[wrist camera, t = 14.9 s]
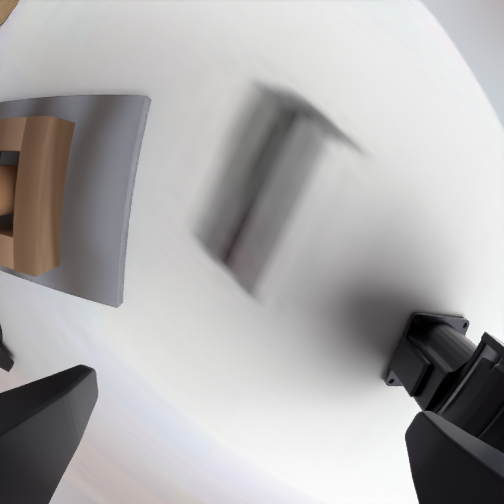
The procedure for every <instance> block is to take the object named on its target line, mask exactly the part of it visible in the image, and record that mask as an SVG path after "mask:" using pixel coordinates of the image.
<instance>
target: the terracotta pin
mask: <svg viewBox="0 0 504 504" xmlns="http://www.w3.org/2000/svg"><path fill="white" fill-rule="evenodd" d="M17 172H18V165H0V216H2V215H7V214H12V213H14V203H15V190H16V180H17Z"/></svg>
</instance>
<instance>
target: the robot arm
mask: <svg viewBox="0 0 504 504" xmlns="http://www.w3.org/2000/svg"><path fill="white" fill-rule="evenodd" d="M417 317H418V318H417ZM415 318H417V320H416V321H414V320H415ZM464 323H465V324H464ZM468 326H469V321H468V320H467V319H465V318H459V317H451V316H443V315H435V314H427V313H420V312H415V313H413V314H412V315H411V316H410V318H409V321H408V324H407V326H406V329H405V332H404V334H403V337H402V339H401V341H400V343H399V346H398V348H397V350H396V353H395V355H394V358H393V360H392V362H391V365H390V368H389V370H388V372H387V375H386V377H385V379H384V381H385V383H386V385H387V386H403V387H404V388H405V390H406V391H407V393H408V394H409V396H410V397H413V398H414V399H415V401H416V402H417V404H418V405H419V407H420V408H421V410H422V412H419V413H418V414H417V415H416V416H415V418H414V419H413V421H412V423H411V424H410V426H409V427H408V429H407V431H406V433H405V441H406V446H407V451H408V457H409V462H410V468H411V474H412V479H413V483H414V486H415V490H416V494H417V498H418V501H419V504H504V343H503V342H501V341H500V340H498V339H497V338H495V337H493V336H492V335H490V334H488V333H487V332H484V334H483V336H482V337H481V339H482V340H481V341H480V343H479V345H478V346H476V345H475V344H474V343H473V342H471V341H470V340H469V339H468V338H466V337H465V334H466V331H467V329H468ZM390 379H392V380H390ZM389 380H390V381H389ZM97 398H98V386H97V377H96V371H95V370H94V369H93V368H91V367H88V366H85V365H77V366H75V367H72V368H69V369H67V370H64V371H61V372H59V373H56V374H53V375H51V376H48V377H45V378H42V379H40V380H37V381H34V382H31V383H28V384H25V385H23V386H20V387H17V388H14V389H11V390H8V391H5V392H2V393H0V504H49V502H50V500H51V498H52V496H53V494H54V492H55V490H56V488H57V486H58V483H59V482H60V480H61V478H62V476H63V474H64V472H65V470H66V468H67V466H68V464H69V462H70V461H71V459H72V457H73V455H74V453H75V451H76V449H77V447H78V445H79V443H80V441H81V439H82V436H83V434H84V431H85V429H86V426H87V423H88V421H89V418H90V416H91V413H92V411H93V408H94V406H95V404H96V401H97Z"/></svg>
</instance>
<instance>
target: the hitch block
mask: <svg viewBox="0 0 504 504" xmlns="http://www.w3.org/2000/svg"><path fill="white" fill-rule="evenodd" d="M150 103H151V100H150V99H149V98H148V97H147V96H134V95H77V96H57V97H44V98H33V99H24V100H16V101H8V102H2V103H0V165H18V172H17V180H16V190H15V203H14V213H12V214H7V215H2V216H0V270H1V271H4V272H6V273H9V274H12V275H14V276H17V277H20V278H23V279H26V280H28V281H31V282H34V283H37V284H40V285H43V286H46V287H49V288H52V289H55V290H58V291H61V292H64V293H68V294H71V295H74V296H77V297H81V298H84V299H87V300H91V301H94V302H98V303H101V304H105V305H109V306H112V307H116V308H117V307H118V306H120V305H121V304H122V303H123V283H124V268H125V255H126V244H127V234H128V225H129V217H130V209H131V202H132V195H133V188H134V182H135V175H136V170H137V164H138V158H139V153H140V148H141V143H142V138H143V133H144V128H145V124H146V119H147V115H148V111H149V107H150Z"/></svg>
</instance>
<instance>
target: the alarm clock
mask: <svg viewBox="0 0 504 504" xmlns="http://www.w3.org/2000/svg"><path fill="white" fill-rule="evenodd" d="M18 1H19V0H0V25H1V24H2V23H3V22H4V21H5V19H6V18H7V17H8V15H9V14H10V13H11V12H12V10H13V9H14V8H15V6H16V5H17V3H18Z"/></svg>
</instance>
